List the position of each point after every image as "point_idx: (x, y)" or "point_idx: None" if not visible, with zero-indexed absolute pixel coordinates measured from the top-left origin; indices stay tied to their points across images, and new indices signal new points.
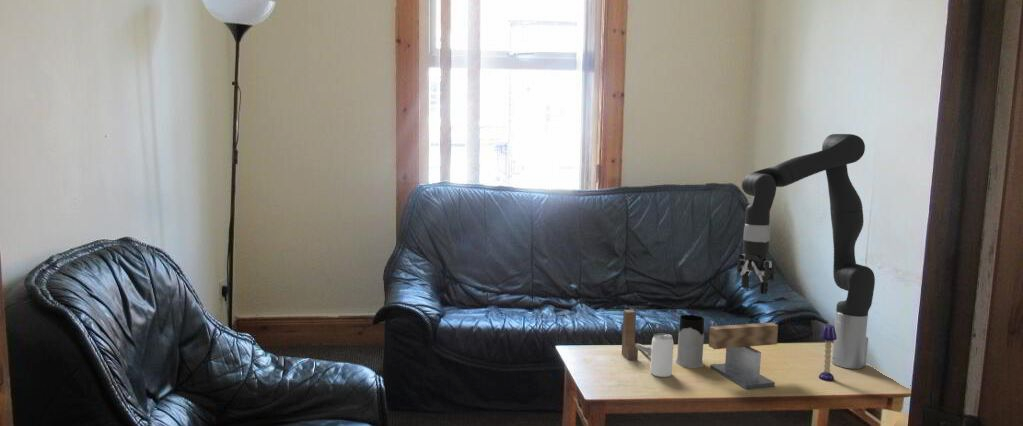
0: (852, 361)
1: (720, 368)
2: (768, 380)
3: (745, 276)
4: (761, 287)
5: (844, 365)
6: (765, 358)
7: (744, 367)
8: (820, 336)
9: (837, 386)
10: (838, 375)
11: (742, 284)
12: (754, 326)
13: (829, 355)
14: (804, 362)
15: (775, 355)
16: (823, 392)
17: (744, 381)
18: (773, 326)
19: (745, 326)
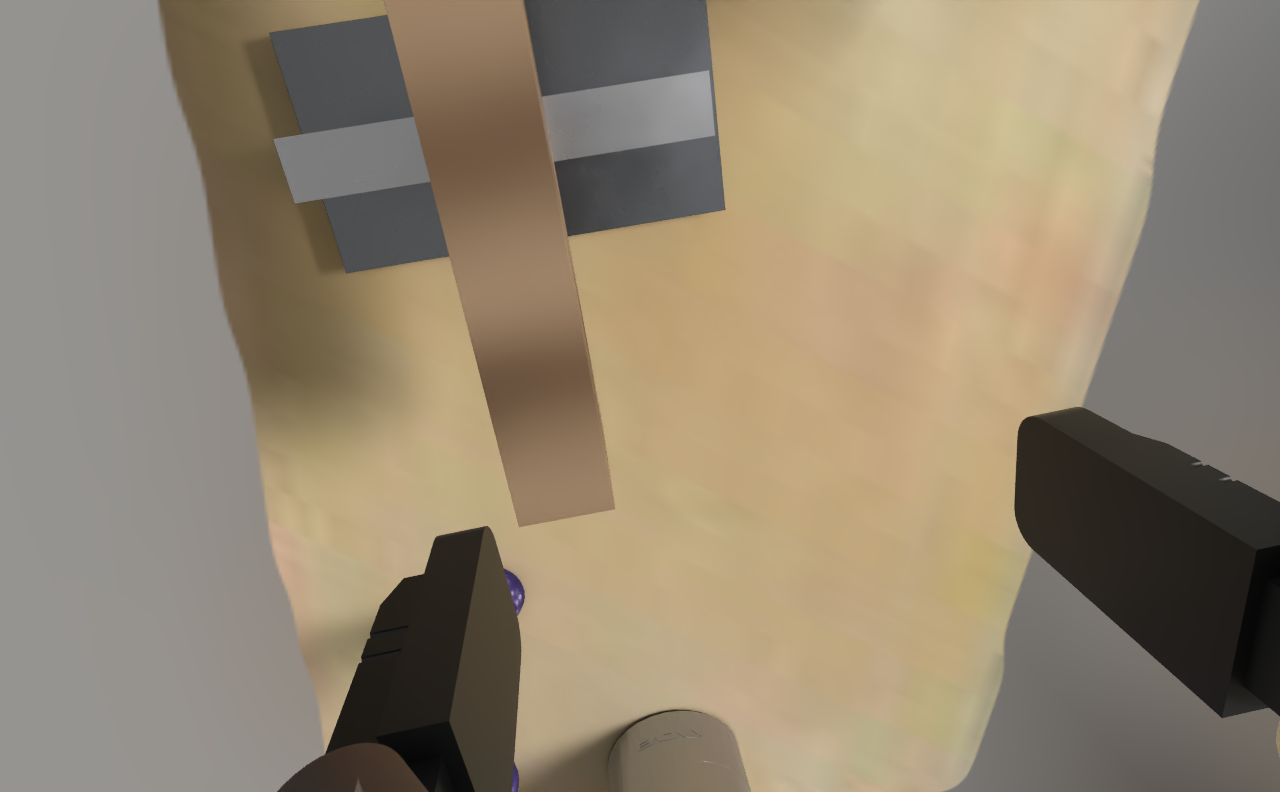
0: (614, 781)
1: (616, 10)
2: (380, 248)
3: (1235, 608)
4: (413, 628)
5: (629, 737)
6: (817, 441)
7: None
8: None
9: (377, 592)
10: (533, 663)
11: (1090, 432)
12: (465, 260)
13: None
14: (726, 602)
15: (851, 515)
16: (279, 489)
17: (348, 62)
18: (506, 474)
19: (460, 145)
